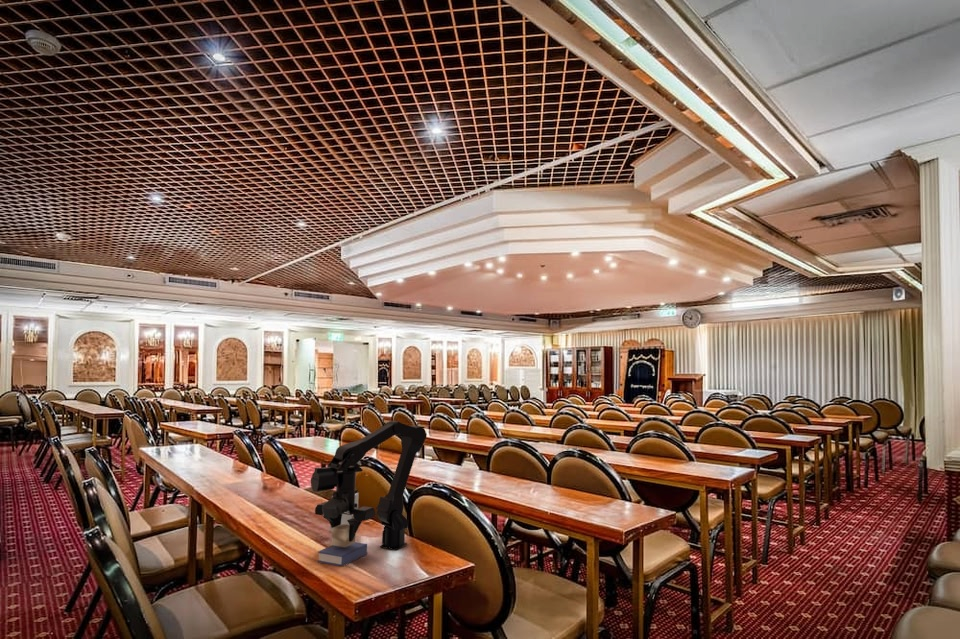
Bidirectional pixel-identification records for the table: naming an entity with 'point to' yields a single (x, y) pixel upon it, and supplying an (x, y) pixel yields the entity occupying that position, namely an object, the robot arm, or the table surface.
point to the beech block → (341, 536)
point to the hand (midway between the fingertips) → (343, 540)
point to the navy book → (342, 554)
